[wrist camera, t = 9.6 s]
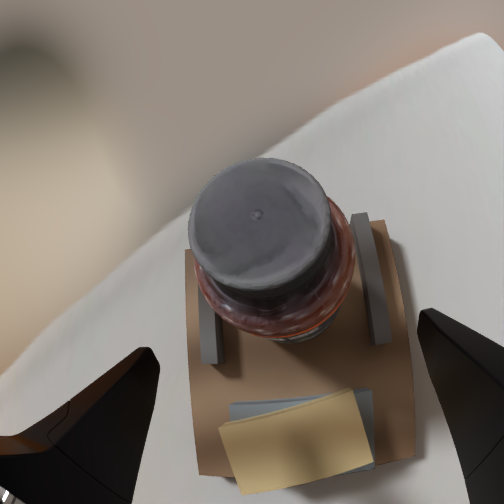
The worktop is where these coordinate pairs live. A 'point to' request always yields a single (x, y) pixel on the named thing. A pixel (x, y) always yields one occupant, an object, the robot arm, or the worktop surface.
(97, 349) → the worktop surface
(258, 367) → the shelf board
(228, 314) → the supplement bottle
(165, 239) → the worktop surface
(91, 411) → the robot arm
